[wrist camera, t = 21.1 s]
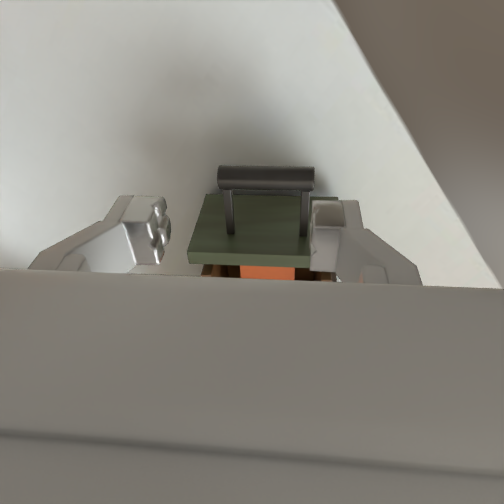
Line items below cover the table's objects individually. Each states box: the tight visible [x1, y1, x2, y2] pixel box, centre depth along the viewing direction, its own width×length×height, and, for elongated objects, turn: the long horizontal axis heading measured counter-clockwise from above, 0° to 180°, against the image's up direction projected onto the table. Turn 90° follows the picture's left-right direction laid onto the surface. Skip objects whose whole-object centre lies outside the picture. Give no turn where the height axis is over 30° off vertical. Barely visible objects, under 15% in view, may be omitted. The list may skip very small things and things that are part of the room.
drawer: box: [187, 165, 338, 282], centre depth 34 cm, size 19×11×8 cm, turn 2°
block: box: [240, 266, 295, 280], centre depth 35 cm, size 4×4×4 cm
